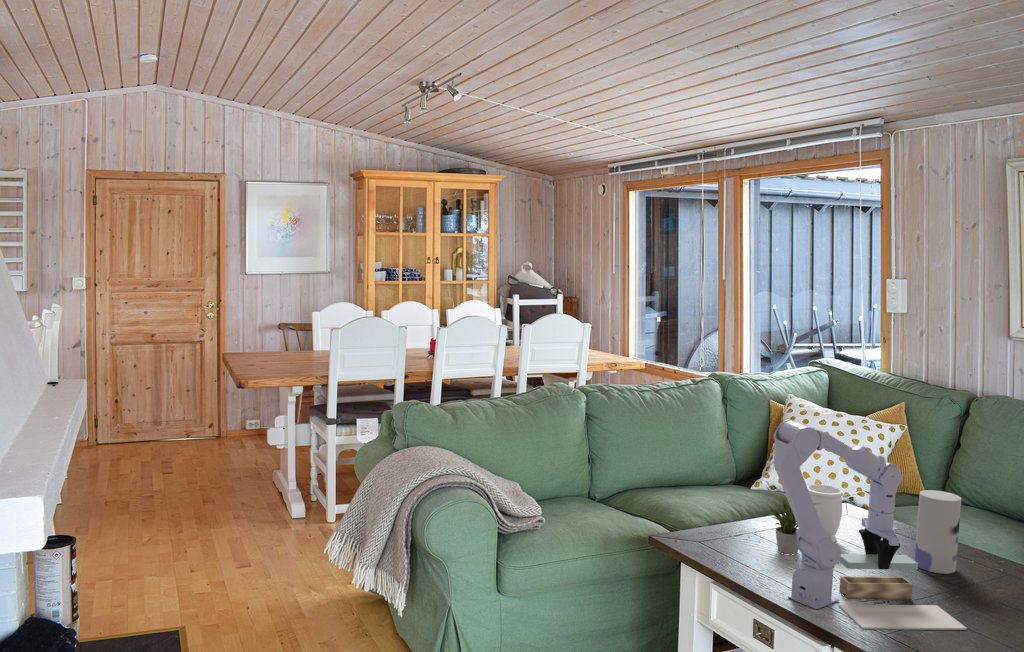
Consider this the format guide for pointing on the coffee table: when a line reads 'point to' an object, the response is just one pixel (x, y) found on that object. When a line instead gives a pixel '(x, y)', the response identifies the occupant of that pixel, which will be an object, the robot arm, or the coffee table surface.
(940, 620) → the mat
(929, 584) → the coffee table surface
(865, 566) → the lid
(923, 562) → the container
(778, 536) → the house plant
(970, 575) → the coffee table surface
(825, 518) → the white vase
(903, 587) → the pencil box
